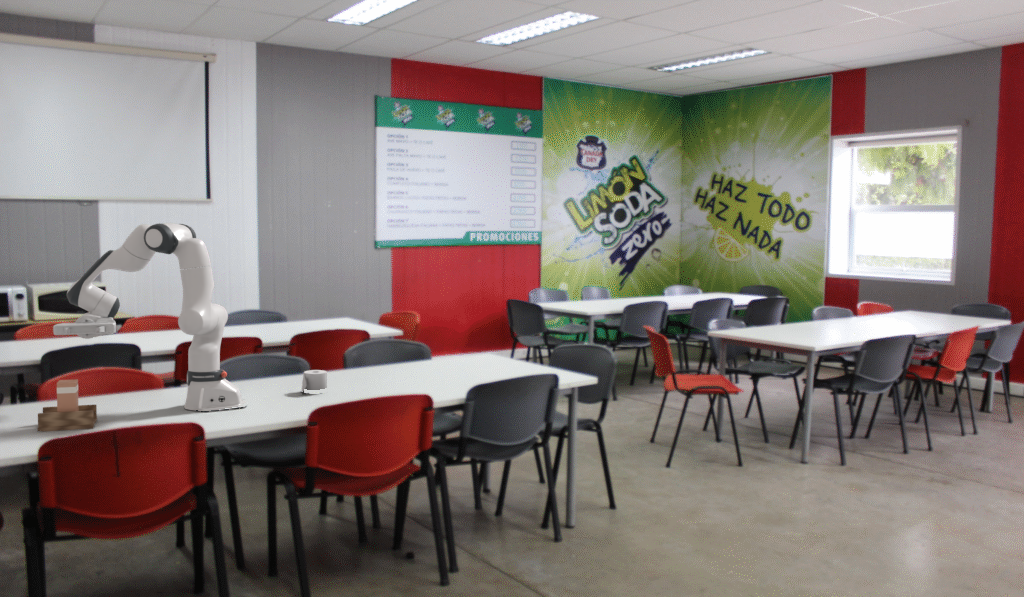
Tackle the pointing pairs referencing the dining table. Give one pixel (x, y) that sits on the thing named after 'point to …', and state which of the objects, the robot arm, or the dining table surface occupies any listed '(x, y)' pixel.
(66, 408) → the carton
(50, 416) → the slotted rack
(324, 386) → the toilet tissue
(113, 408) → the dining table surface
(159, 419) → the dining table surface
